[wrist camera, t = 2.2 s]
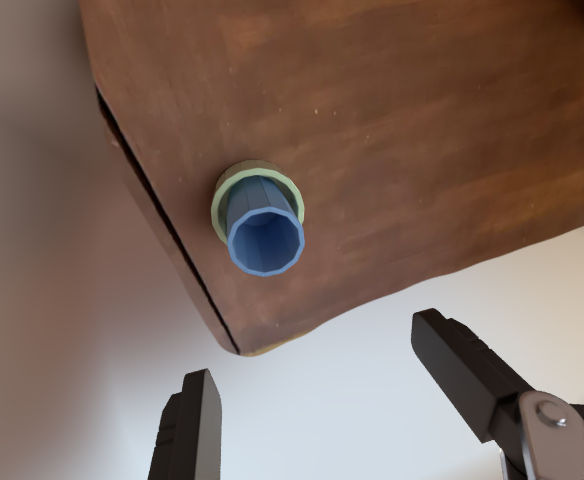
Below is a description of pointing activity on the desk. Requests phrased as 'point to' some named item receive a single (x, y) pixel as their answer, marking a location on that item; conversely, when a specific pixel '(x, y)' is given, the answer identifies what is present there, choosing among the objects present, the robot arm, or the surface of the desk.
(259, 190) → the blue cup
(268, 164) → the green cup
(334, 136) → the desk surface
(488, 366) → the robot arm
